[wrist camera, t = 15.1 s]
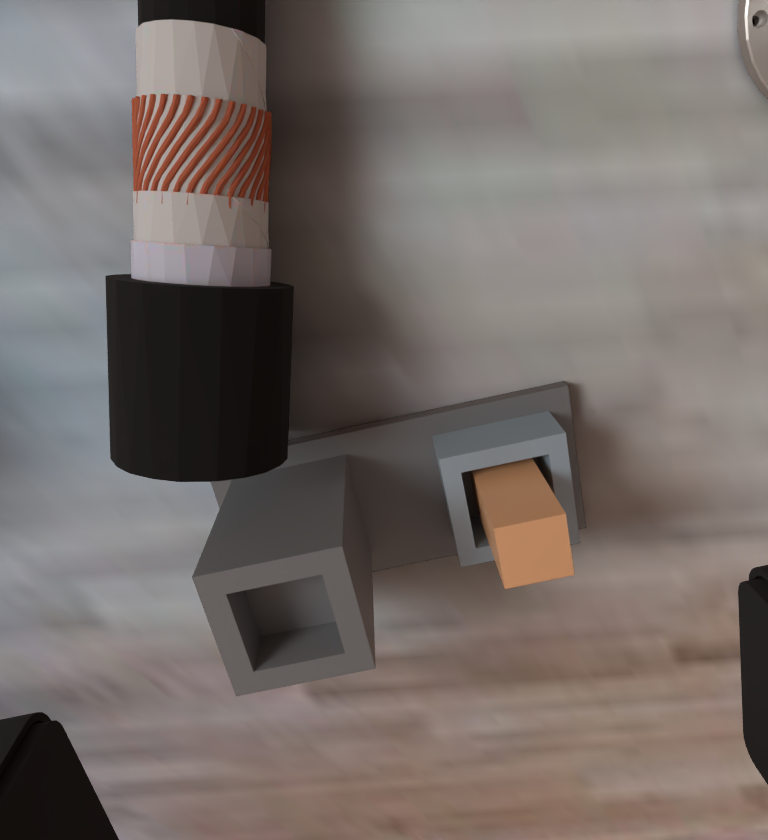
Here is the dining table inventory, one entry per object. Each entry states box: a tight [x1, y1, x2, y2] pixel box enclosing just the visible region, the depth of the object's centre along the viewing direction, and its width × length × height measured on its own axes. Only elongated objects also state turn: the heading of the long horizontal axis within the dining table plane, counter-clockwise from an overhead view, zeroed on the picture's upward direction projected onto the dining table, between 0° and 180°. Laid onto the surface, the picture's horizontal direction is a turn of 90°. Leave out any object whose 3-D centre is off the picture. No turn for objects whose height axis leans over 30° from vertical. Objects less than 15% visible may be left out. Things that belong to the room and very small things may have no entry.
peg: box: [469, 458, 574, 589], centre depth 42 cm, size 4×4×10 cm
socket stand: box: [192, 381, 586, 696], centre depth 42 cm, size 25×11×13 cm, turn 102°
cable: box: [106, 0, 294, 482], centre depth 36 cm, size 10×34×10 cm, turn 173°
